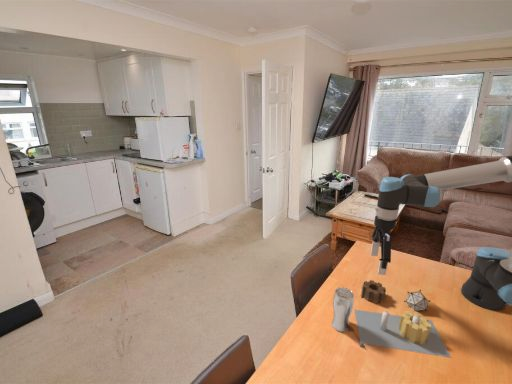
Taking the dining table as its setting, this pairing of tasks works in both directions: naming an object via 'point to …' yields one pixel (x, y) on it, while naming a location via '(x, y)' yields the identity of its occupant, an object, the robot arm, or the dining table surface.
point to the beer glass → (342, 308)
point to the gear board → (395, 334)
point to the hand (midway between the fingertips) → (377, 264)
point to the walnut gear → (373, 291)
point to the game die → (417, 301)
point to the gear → (414, 327)
